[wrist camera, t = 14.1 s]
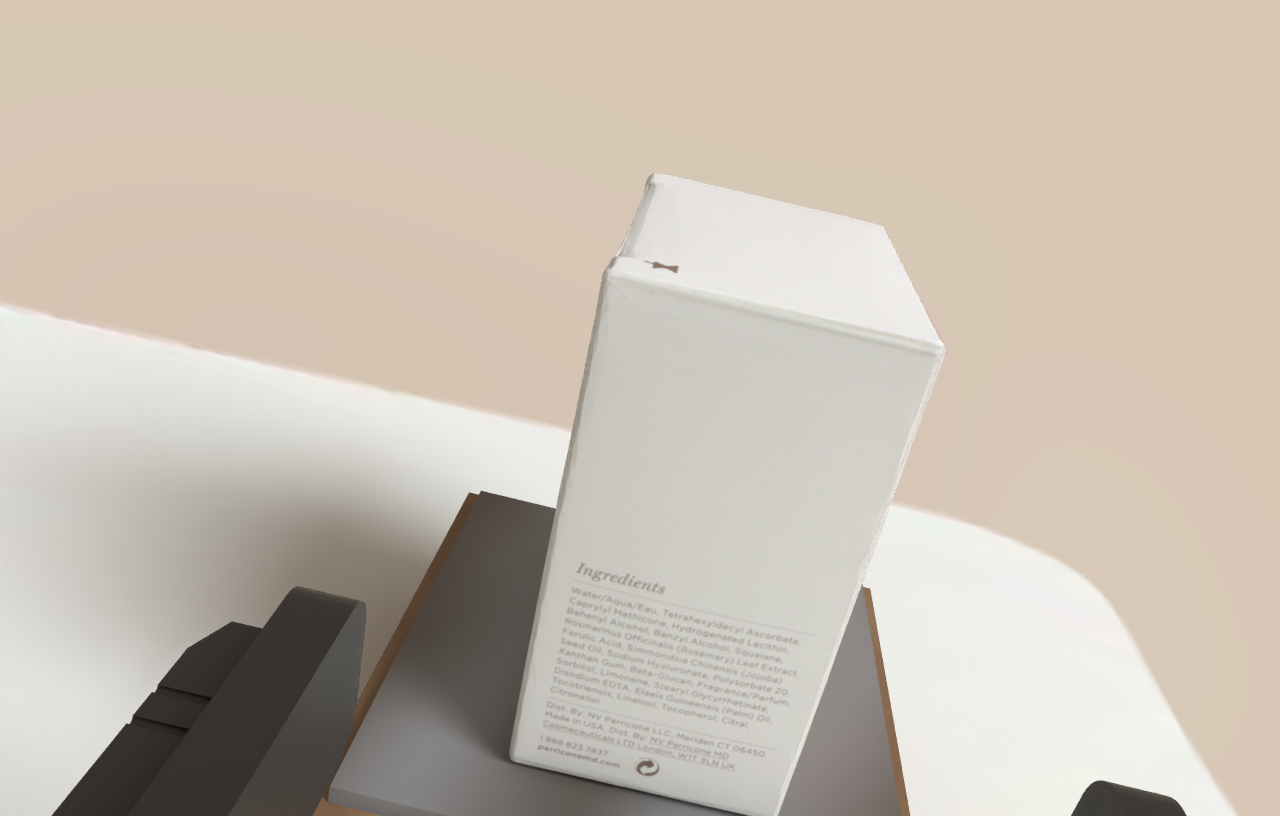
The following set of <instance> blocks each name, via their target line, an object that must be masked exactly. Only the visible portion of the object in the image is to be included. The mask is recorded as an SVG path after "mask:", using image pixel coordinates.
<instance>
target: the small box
mask: <svg viewBox="0 0 1280 816" xmlns="http://www.w3.org/2000/svg"><path fill="white" fill-rule="evenodd" d="M945 354H946V347H945V345H944V344H943V342H942V340H941V339H940V337H939V335H938V333H937V331H936V329H935V327H934V325H933V323H932V321H931V319H930V317H929V315H928V313H927V311H926V309H925V308H924V306H923V304H922V301H921V300H920V298H919V296H918V294H917V292H916V290H915V288H914V286H913V284H912V282H911V280H910V278H909V276H908V274H907V272H906V270H905V268H904V267H903V264H902V262H901V260H900V258H899V256H898V254H897V252H896V250H895V249H894V246H893V244H892V242H891V241H890V239H889V236H888V234H887V232H886V230H885V228H884V227H882V226H880V225H876V224H872V223H868V222H865V221H862V220H858V219H854V218H850V217H846V216H841V215H837V214H833V213H829V212H824V211H820V210H816V209H811V208H807V207H802V206H798V205H793V204H789V203H785V202H781V201H777V200H773V199H769V198H765V197H760V196H756V195H752V194H748V193H744V192H740V191H735V190H731V189H727V188H722V187H718V186H714V185H710V184H705V183H701V182H697V181H692V180H688V179H684V178H680V177H675V176H670V175H665V174H661V173H654V174H652V175H651V176H649V177H648V179H647V181H646V186H645V190H644V195H643V198H642V201H641V203H640V205H639V207H638V209H637V212H636V215H635V217H634V219H633V222H632V224H631V226H630V228H629V230H628V232H627V235H626V237H625V239H624V241H623V243H622V245H621V247H620V248H619V250H618V252H617V254H616V256H615V257H614V258H613V259H612V260H611V262H610V263H609V265H608V266H607V268H606V269H605V271H604V273H603V276H602V281H601V287H600V292H599V298H598V304H597V309H596V315H595V320H594V325H593V330H592V335H591V340H590V344H589V349H588V354H587V359H586V364H585V370H584V375H583V379H582V384H581V390H580V394H579V400H578V404H577V410H576V415H575V419H574V424H573V429H572V434H571V439H570V444H569V449H568V453H567V458H566V463H565V468H564V472H563V477H562V481H561V486H560V490H559V496H558V501H557V507H556V512H555V517H554V522H553V526H552V531H551V536H550V541H549V546H548V551H547V556H546V561H545V566H544V571H543V576H542V582H541V587H540V592H539V597H538V602H537V607H536V612H535V618H534V623H533V628H532V633H531V638H530V643H529V648H528V653H527V658H526V664H525V669H524V674H523V680H522V685H521V690H520V696H519V701H518V706H517V712H516V718H515V723H514V728H513V734H512V739H511V745H510V752H509V753H510V759H511V760H512V761H514V762H517V763H521V764H525V765H530V766H534V767H538V768H543V769H547V770H552V771H557V772H561V773H565V774H569V775H573V776H578V777H582V778H587V779H591V780H595V781H600V782H604V783H608V784H612V785H616V786H621V787H626V788H630V789H635V790H639V791H644V792H648V793H652V794H657V795H661V796H665V797H669V798H673V799H678V800H682V801H686V802H690V803H695V804H699V805H703V806H708V807H712V808H717V809H721V810H726V811H730V812H734V813H739V814H743V815H747V816H778V815H779V812H780V809H781V806H782V803H783V801H784V798H785V795H786V792H787V790H788V787H789V784H790V781H791V778H792V776H793V773H794V770H795V767H796V765H797V762H798V760H799V757H800V754H801V752H802V749H803V747H804V744H805V741H806V738H807V735H808V732H809V729H810V726H811V723H812V721H813V718H814V715H815V713H816V710H817V707H818V704H819V702H820V699H821V696H822V694H823V691H824V688H825V686H826V683H827V680H828V677H829V674H830V672H831V669H832V666H833V663H834V660H835V657H836V654H837V651H838V648H839V646H840V643H841V641H842V638H843V635H844V632H845V629H846V627H847V624H848V621H849V619H850V616H851V613H852V611H853V608H854V605H855V602H856V600H857V597H858V594H859V591H860V589H861V586H862V583H863V580H864V577H865V574H866V571H867V568H868V565H869V563H870V560H871V557H872V555H873V552H874V549H875V546H876V544H877V541H878V538H879V535H880V533H881V530H882V527H883V524H884V521H885V519H886V516H887V513H888V510H889V507H890V505H891V502H892V499H893V496H894V493H895V491H896V488H897V485H898V482H899V479H900V477H901V474H902V471H903V468H904V465H905V462H906V460H907V457H908V454H909V452H910V449H911V446H912V444H913V441H914V438H915V435H916V433H917V430H918V427H919V424H920V421H921V419H922V416H923V413H924V411H925V408H926V405H927V402H928V400H929V397H930V394H931V391H932V388H933V386H934V383H935V380H936V378H937V375H938V372H939V370H940V367H941V364H942V362H943V359H944V357H945Z"/></svg>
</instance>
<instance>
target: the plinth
mask: <svg viewBox="0 0 1280 816" xmlns="http://www.w3.org/2000/svg"><path fill="white" fill-rule="evenodd" d="M555 512H556V509H555V508H550V507H546V506H542V505H538V504H534V503H530V502H525V501H521V500H517V499H513V498H509V497H505V496H500V495H496V494H492V493H488V492H484V491H481V492H480V494H479V495H478V494H473V493H469V494H468V496H467V498H466V499H465V501H464V503H463V505H462V507H461V509H460V511H459V513H458V514H457V516H456V518H455V520H454V522H453V524H452V526H451V528H450V529H449V531H448V533H447V535H446V537H445V539H444V541H443V543H442V545H441V546H440V548H439V550H438V552H437V554H436V556H435V558H434V560H433V561H432V563H431V565H430V567H429V569H428V571H427V573H426V575H425V577H424V578H423V580H422V582H421V584H420V586H419V588H418V590H417V592H416V593H415V595H414V597H413V599H412V601H411V603H410V605H409V607H408V609H407V610H406V612H405V614H404V616H403V618H402V620H401V622H400V624H399V625H398V627H397V629H396V631H395V633H394V635H393V637H392V639H391V641H390V642H389V644H388V646H387V648H386V650H385V652H384V654H383V656H382V657H381V659H380V661H379V663H378V665H377V667H376V669H375V671H374V672H373V674H372V676H371V678H370V680H369V682H368V684H367V686H366V688H365V689H364V691H363V693H362V695H361V697H360V699H359V701H358V703H357V704H356V709H355V715H354V719H353V724H352V728H351V731H350V735H349V738H348V741H347V744H346V747H345V750H344V753H343V755H342V758H341V760H340V762H339V765H338V767H337V769H336V771H335V773H334V775H333V777H332V779H331V781H330V783H329V785H328V787H327V789H326V791H325V793H324V795H323V797H322V798H321V800H320V802H319V804H318V806H317V808H316V810H315V812H314V814H313V816H747V815H743V814H739V813H734V812H730V811H726V810H721V809H717V808H712V807H708V806H703V805H699V804H695V803H690V802H686V801H682V800H678V799H673V798H669V797H665V796H661V795H657V794H652V793H648V792H644V791H639V790H635V789H630V788H626V787H621V786H616V785H612V784H608V783H604V782H600V781H595V780H591V779H587V778H582V777H578V776H573V775H569V774H565V773H561V772H557V771H552V770H547V769H543V768H538V767H534V766H530V765H525V764H521V763H517V762H514V761H512V760H511V759H510V753H509V752H510V745H511V739H512V734H513V728H514V723H515V718H516V712H517V706H518V701H519V696H520V690H521V685H522V680H523V674H524V669H525V664H526V658H527V653H528V648H529V643H530V638H531V633H532V628H533V623H534V618H535V612H536V607H537V602H538V597H539V592H540V587H541V582H542V576H543V571H544V566H545V561H546V556H547V551H548V546H549V541H550V536H551V531H552V526H553V522H554V517H555ZM778 816H910V812H909V806H908V800H907V795H906V789H905V783H904V778H903V772H902V766H901V761H900V755H899V750H898V744H897V738H896V733H895V727H894V721H893V716H892V710H891V704H890V699H889V693H888V687H887V682H886V676H885V670H884V665H883V659H882V653H881V648H880V642H879V636H878V631H877V625H876V619H875V614H874V608H873V602H872V597H871V591H870V589H869V588H865V587H863V584H862V586H861V589H860V591H859V594H858V597H857V600H856V602H855V605H854V608H853V611H852V613H851V616H850V619H849V621H848V624H847V627H846V629H845V632H844V635H843V638H842V641H841V643H840V646H839V648H838V651H837V654H836V657H835V660H834V663H833V666H832V669H831V672H830V674H829V677H828V680H827V683H826V686H825V688H824V691H823V694H822V696H821V699H820V702H819V704H818V707H817V710H816V713H815V715H814V718H813V721H812V723H811V726H810V729H809V732H808V735H807V738H806V741H805V744H804V747H803V749H802V752H801V754H800V757H799V760H798V762H797V765H796V767H795V770H794V773H793V776H792V778H791V781H790V784H789V787H788V790H787V792H786V795H785V798H784V801H783V803H782V806H781V809H780V812H779V815H778Z"/></svg>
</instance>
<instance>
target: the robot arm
mask: <svg viewBox="0 0 1280 816" xmlns="http://www.w3.org/2000/svg"><path fill="white" fill-rule="evenodd" d="M365 622H366V605H365V603H364V602H362V601H358V600H354V599H350V598H345V597H341V596H337V595H333V594H329V593H325V592H320V591H316V590H312V589H308V588H304V587H299V586H297V587H295V588H293V589H292V590H291V591H290V592H289V593H288V594H287V596H286V597H285V598H284V600H283V601H282V603H281V604H280V605H279V607H278V608H277V610H276V611H275V612H274V614H273V615H272V616H271V618H270V619H269V621H268V622H267V623H266V625H265V626H264V628H263V629H261V628H257V627H253V626H249V625H245V624H241V623H236V622H231V623H229V624H227V625H226V626H224V627H222V628H220V629H219V630H217V631H215V632H214V633H212V634H210V635H209V636H207V637H205V638H204V639H202V640H200V641H199V642H197V643H195V644H194V645H192V646H190V647H189V648H187V650H186V651H185V652H184V653H183V654H182V656H181V657H180V658H179V659H178V661H177V662H176V663H175V664H174V666H173V667H172V668H171V669H170V671H169V672H168V673H167V674H166V675H165V677H164V678H163V679H162V680H161V682H160V683H159V684H158V687H157V690H156V692H155V693H154V692H152V693H151V694H150V695H149V696H148V698H147V699H146V700H145V701H144V703H143V704H142V705H141V706H140V707H139V709H138V710H137V711H136V712H135V714H134V715H133V718H132V721H131V723H130V724H126V725H125V726H124V727H123V728H122V730H121V731H120V732H119V733H118V735H117V736H116V737H115V738H114V740H113V741H112V742H111V743H110V744H109V746H108V747H107V748H106V749H105V751H104V752H103V753H102V754H101V756H100V757H99V758H98V759H97V760H96V762H95V763H94V764H93V765H92V767H91V768H90V769H89V770H88V772H87V773H86V774H85V775H84V777H83V778H82V779H81V780H80V781H79V783H78V784H77V785H76V786H75V788H74V789H73V790H72V791H71V793H70V794H69V795H68V796H67V797H66V799H65V800H64V801H63V802H62V804H61V805H60V806H59V807H58V809H57V810H56V811H55V812H54V813H53V815H52V816H313V814H314V812H315V810H316V808H317V806H318V804H319V802H320V800H321V798H322V797H323V795H324V793H325V791H326V789H327V787H328V785H329V783H330V781H331V779H332V777H333V775H334V773H335V771H336V769H337V767H338V765H339V762H340V760H341V758H342V755H343V753H344V750H345V747H346V744H347V741H348V738H349V735H350V731H351V728H352V724H353V719H354V715H355V709H356V701H357V692H358V683H359V674H360V666H361V657H362V648H363V639H364V630H365ZM1071 816H1186V814H1185V812H1184V810H1183V809H1182V807H1181V806H1180V804H1179V803H1178V802H1177V801H1176V800H1174V799H1173V798H1171V797H1169V796H1165V795H1161V794H1157V793H1152V792H1148V791H1144V790H1140V789H1136V788H1132V787H1127V786H1123V785H1119V784H1115V783H1111V782H1106V781H1096V782H1094V783H1092V784H1091V785H1090V786H1089V787H1088V788H1087V789H1086V790H1085V792H1084V793H1083V795H1082V797H1081V799H1080V801H1079V802H1078V804H1077V806H1076V808H1075V810H1074V811H1073V813H1072V815H1071Z"/></svg>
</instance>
